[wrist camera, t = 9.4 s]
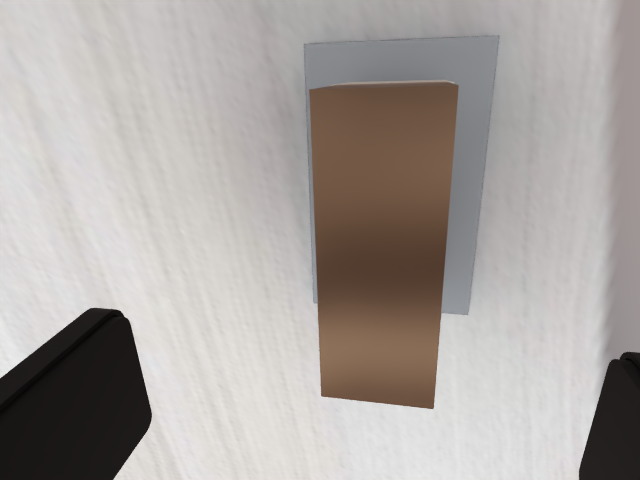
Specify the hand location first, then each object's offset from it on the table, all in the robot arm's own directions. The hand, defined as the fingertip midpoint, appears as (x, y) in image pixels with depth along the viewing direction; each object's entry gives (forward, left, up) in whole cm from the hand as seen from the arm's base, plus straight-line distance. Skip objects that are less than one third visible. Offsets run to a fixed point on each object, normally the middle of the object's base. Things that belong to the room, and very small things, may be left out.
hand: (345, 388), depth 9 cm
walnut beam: (+1, 0, -12) cm, 12 cm away
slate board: (+1, 0, -19) cm, 19 cm away
